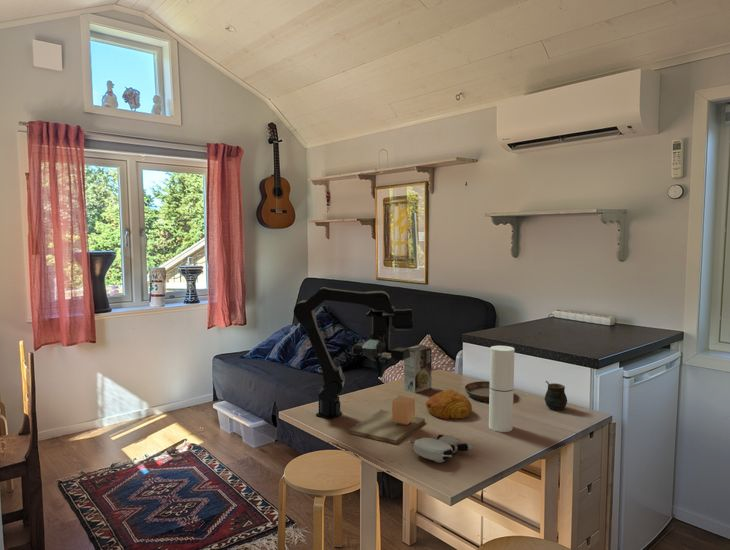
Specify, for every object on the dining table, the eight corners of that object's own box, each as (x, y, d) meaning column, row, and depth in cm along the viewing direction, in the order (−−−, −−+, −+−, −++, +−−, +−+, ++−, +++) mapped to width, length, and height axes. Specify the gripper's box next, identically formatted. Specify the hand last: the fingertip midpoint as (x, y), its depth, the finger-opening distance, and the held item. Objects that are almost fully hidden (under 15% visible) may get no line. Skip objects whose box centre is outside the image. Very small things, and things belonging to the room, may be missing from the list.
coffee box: (419, 384, 210) (420, 344, 208) (431, 388, 205) (432, 347, 204) (403, 389, 204) (403, 347, 203) (415, 393, 199) (415, 350, 198)
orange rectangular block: (392, 421, 164) (392, 400, 164) (399, 416, 169) (399, 395, 168) (407, 424, 162) (407, 403, 161) (414, 419, 166) (414, 398, 165)
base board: (348, 433, 160) (348, 429, 160) (380, 413, 177) (380, 409, 177) (395, 444, 152) (395, 440, 152) (424, 422, 169) (424, 418, 169)
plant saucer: (491, 407, 184) (491, 398, 184) (454, 394, 198) (454, 386, 198) (523, 397, 195) (523, 389, 194) (486, 386, 209) (486, 378, 209)
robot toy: (440, 444, 155) (404, 455, 145) (441, 429, 155) (405, 439, 144) (475, 457, 146) (440, 470, 136) (476, 441, 146) (441, 453, 135)
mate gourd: (571, 410, 181) (572, 381, 180) (553, 413, 178) (554, 384, 177) (556, 403, 187) (557, 375, 186) (539, 406, 185) (540, 378, 184)
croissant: (458, 409, 188) (458, 387, 188) (478, 419, 173) (477, 394, 173) (420, 412, 184) (419, 388, 185) (436, 421, 169) (436, 396, 170)
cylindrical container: (496, 433, 161) (497, 351, 158) (484, 424, 168) (486, 346, 165) (517, 430, 163) (519, 350, 160) (504, 422, 169) (506, 345, 167)
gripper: (343, 331, 170) (343, 378, 172) (394, 337, 161) (394, 387, 162) (361, 325, 180) (361, 370, 181) (411, 331, 171) (410, 378, 172)
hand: (380, 377), depth 174 cm, fingers closed
